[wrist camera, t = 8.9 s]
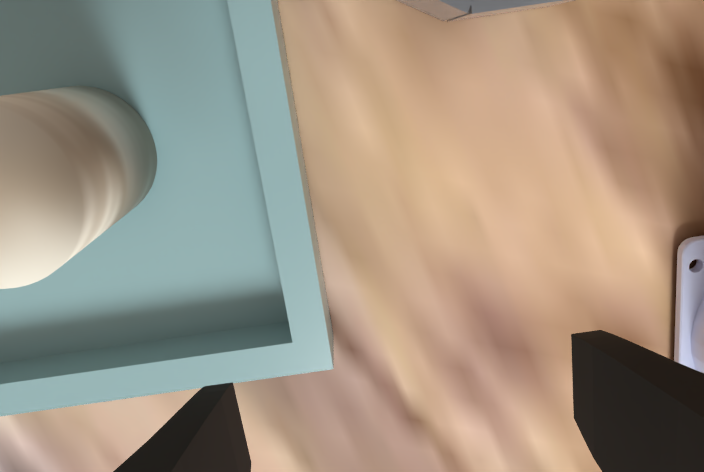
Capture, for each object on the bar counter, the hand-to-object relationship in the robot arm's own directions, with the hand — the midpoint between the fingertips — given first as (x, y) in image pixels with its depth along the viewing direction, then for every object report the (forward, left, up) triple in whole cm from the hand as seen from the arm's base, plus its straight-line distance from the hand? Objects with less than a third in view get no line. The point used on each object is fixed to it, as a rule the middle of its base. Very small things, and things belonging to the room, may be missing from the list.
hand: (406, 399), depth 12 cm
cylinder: (+5, +9, -9) cm, 13 cm away
